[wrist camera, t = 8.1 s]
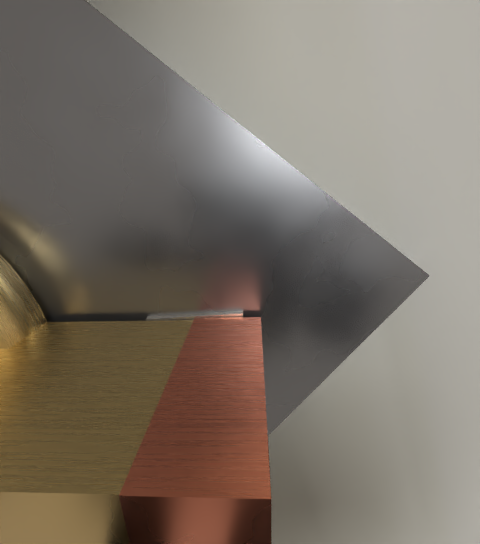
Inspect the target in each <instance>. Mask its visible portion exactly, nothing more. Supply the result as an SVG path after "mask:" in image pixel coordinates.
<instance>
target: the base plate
mask: <svg viewBox="0 0 480 544" xmlns="http://www.w3.org/2000/svg"><path fill="white" fill-rule="evenodd" d="M0 255H1V256H2V257H3V258H4V259H5V260H6V261H7V262H8V263H9V264H10V265H11V266H12V267H13V269H14V270H15V271H16V273H17V274H18V275H19V276H20V278H21V279H22V280H23V281H24V283H25V284H26V285H27V287H28V288H29V290H30V291H31V293H32V294H33V296H34V298H35V299H36V301H37V302H38V304H39V306H40V307H41V309H42V311H43V314H44V316H45V318H46V320H47V322H79V321H169V320H194V318H235V317H261V329H262V347H263V364H264V382H265V399H266V417H267V435H269V434H270V433H271V432H272V431H273V430H274V429H275V428H276V427H277V426H278V425H279V424H280V423H281V422H282V421H283V420H284V419H285V418H286V417H287V416H288V415H289V414H290V413H291V412H292V411H293V410H294V409H295V408H296V407H297V406H298V405H299V404H300V403H301V402H302V401H303V400H304V399H305V398H306V397H307V396H308V395H309V394H311V393H312V392H313V391H314V390H315V389H316V388H317V387H318V386H319V385H320V384H321V383H322V382H323V381H324V380H325V379H326V378H327V377H328V376H329V375H330V374H331V373H332V372H333V371H334V370H335V369H336V368H337V367H338V366H339V365H340V364H341V363H342V362H343V361H344V360H345V359H346V358H347V357H348V356H349V355H350V354H351V353H352V352H353V351H354V350H355V349H356V348H357V347H358V346H359V345H360V344H361V343H362V342H363V341H364V340H365V339H366V338H367V337H368V336H369V335H370V334H371V333H372V332H373V331H374V330H375V329H376V328H377V327H378V326H379V325H380V324H381V323H382V322H383V321H384V320H385V319H386V318H387V317H388V316H389V315H390V314H392V313H393V312H394V311H395V310H396V309H397V308H398V307H399V306H400V305H401V304H402V303H403V302H404V301H405V300H406V299H407V298H408V297H409V296H410V295H411V294H412V293H413V292H414V291H415V290H416V289H417V288H418V287H419V286H420V285H421V284H422V283H423V282H424V281H425V280H426V279H427V278H428V277H429V275H428V274H427V273H426V272H424V271H423V270H422V269H421V268H419V267H418V266H417V265H416V264H414V263H413V262H412V261H411V260H409V259H408V258H407V257H406V256H404V255H403V254H402V253H401V252H399V251H398V250H397V249H396V248H394V247H393V246H392V245H391V244H389V243H388V242H387V241H386V240H384V239H383V238H382V237H381V236H379V235H378V234H377V233H376V232H374V231H373V230H372V229H371V228H369V227H368V226H367V225H366V224H364V223H363V222H362V221H361V220H359V219H358V218H357V217H356V216H354V215H353V214H352V213H351V212H349V211H348V210H347V209H346V208H344V207H343V206H342V205H341V204H339V203H338V202H337V201H336V200H334V199H333V198H332V197H331V196H329V195H328V194H327V193H326V192H324V191H323V190H322V189H321V188H319V187H318V186H317V185H316V184H314V183H313V182H312V181H311V180H309V179H308V178H307V177H306V176H304V175H303V174H302V173H301V172H299V171H298V170H297V169H296V168H294V167H293V166H292V165H291V164H289V163H288V162H287V161H286V160H284V159H283V158H282V157H281V156H279V155H278V154H277V153H275V152H274V151H273V150H272V149H270V148H269V147H268V146H267V145H265V144H264V143H263V142H262V141H260V140H259V139H258V138H257V137H255V136H254V135H253V134H252V133H250V132H249V131H248V130H247V129H245V128H244V127H243V126H242V125H240V124H239V123H238V122H237V121H235V120H234V119H233V118H232V117H230V116H229V115H228V114H227V113H225V112H224V111H223V110H222V109H220V108H219V107H218V106H217V105H215V104H214V103H213V102H212V101H210V100H209V99H208V98H207V97H205V96H204V95H203V94H202V93H200V92H199V91H198V90H197V89H195V88H194V87H193V86H192V85H190V84H189V83H188V82H187V81H185V80H184V79H183V78H182V77H180V76H179V75H178V74H177V73H175V72H174V71H173V70H172V69H170V68H169V67H168V66H167V65H165V64H164V63H163V62H162V61H160V60H159V59H158V58H157V57H155V56H154V55H153V54H152V53H150V52H149V51H148V50H147V49H145V48H144V47H143V46H142V45H140V44H139V43H138V42H137V41H135V40H134V39H133V38H132V37H130V36H129V35H128V34H127V33H125V32H124V31H123V30H122V29H120V28H119V27H118V26H117V25H115V24H114V23H113V22H112V21H110V20H109V19H108V18H107V17H105V16H104V15H103V14H102V13H100V12H99V11H98V10H97V9H95V8H94V7H93V6H92V5H90V4H89V3H88V2H87V1H85V0H0Z"/></svg>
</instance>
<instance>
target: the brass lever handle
mask: <svg viewBox="0 0 480 544" xmlns="http://www.w3.org/2000/svg"><path fill="white" fill-rule="evenodd" d="M0 544H271V487H270V470H269V452H268V435H267V417H266V399H265V382H264V364H263V347H262V329H261V317H235V318H194V320H169V321H79V322H47V320H46V318H45V316H44V314H43V311H42V309H41V307H40V306H39V304H38V302H37V301H36V299H35V298H34V296H33V294H32V293H31V291H30V290H29V288H28V287H27V285H26V284H25V283H24V281H23V280H22V279H21V278H20V276H19V275H18V274H17V273H16V271H15V270H14V269H13V267H12V266H11V265H10V264H9V263H8V262H7V261H6V260H5V259H4V258H3V257H2V256H1V255H0Z"/></svg>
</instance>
